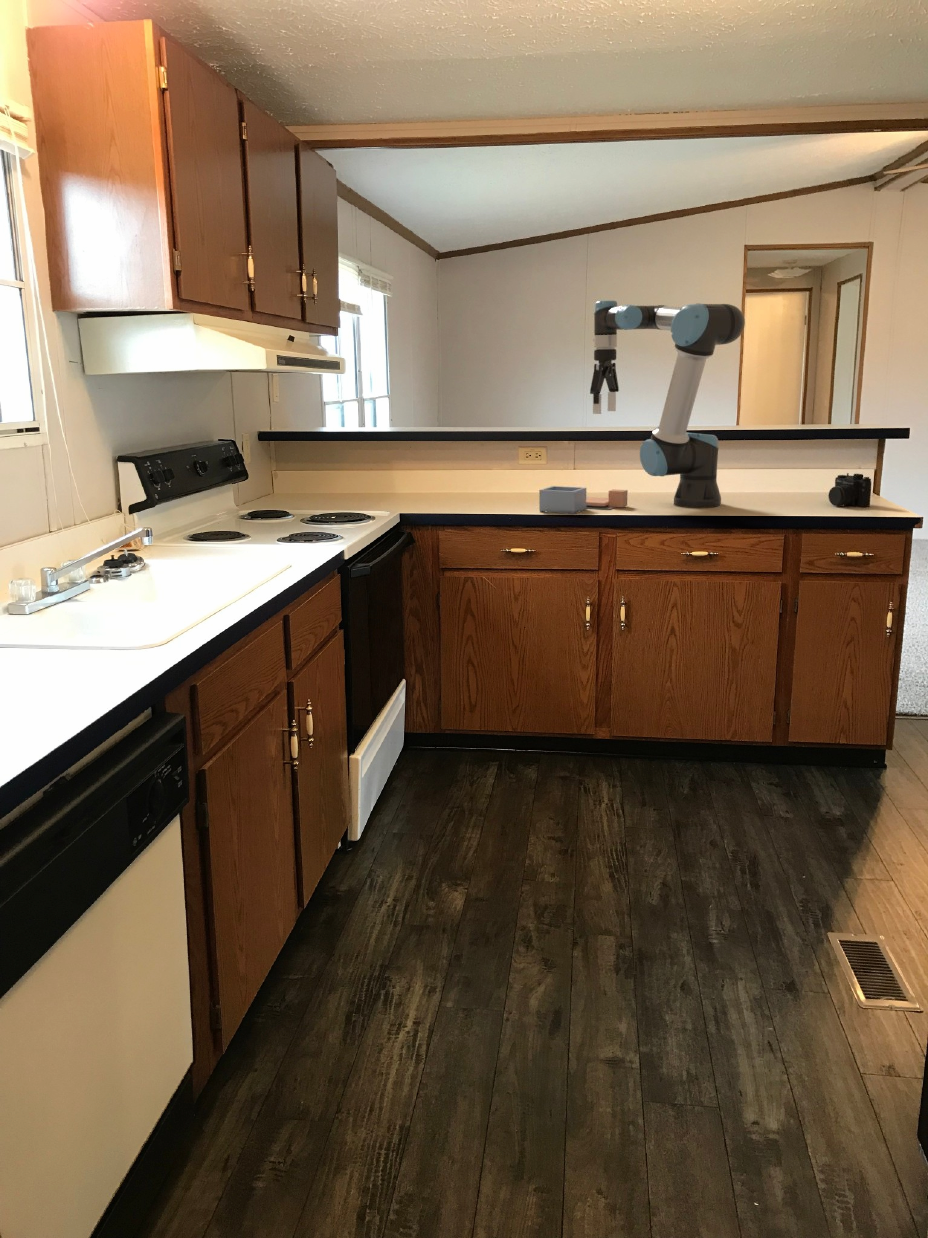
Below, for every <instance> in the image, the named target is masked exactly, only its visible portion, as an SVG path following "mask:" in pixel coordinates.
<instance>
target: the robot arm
mask: <svg viewBox="0 0 928 1238" xmlns="http://www.w3.org/2000/svg"><path fill="white" fill-rule="evenodd" d="M593 315H594V316H593V317H594V322H593V324H594V326H593V327H594V329H593V330H594V337H593V340H592V341H593V342H594V343H593V344H594V348H595V349H594V351H593V359H594V361H596V362H597V361H598V363H594V365H593V373H592V374H593V375H592V379H591V383H590V391H589V393H590V395H592V415H599V414H600V415H601V414H602V393H601V392H602V389H603V385H604V383H605V382H606V386H607V388H608V392H607V412H617V411H616V408H617V407H616V406H617V401H616V400H617V398H616V397H617V393H618V392H619V391H620V388H619V382H618V375H617V370H616V369H617V368H616V365H617V364H616V362H613V361H616V360H617V349H616V347H618V336H617V335H618V334H617V332H618V331H619V330H621V331H622V330H624V331H627V330H660V331H670V333H671V339H672V341H673V342H674V349H675V350H676V352H677V356H676V360H675V364H674V367H673V370H672V375H671V379H670V383H669V386H668V389H667V395H666V398H665V402H664V405H663V409H662V413H661V417H660V421H659V425H658V426H657V427H655V428H653V430H652V433H651V436H650V438H649V439H648V438H647V439H646V440H645V441H643V442H641V445H640V448H639V460H640V464H641V466H642V468H643V470H644V471H645V473H647V474H648V475H649V476H651V477H666V476H674V475H679V482H678V485H677V488H676V491H675V494H674V497H673V505H674V506H677V507H682V508H698V509H699V508H701V509H702V508H715V507H719V506H721V505H722V497H721V493H720V489H719V485H718V481H717V479H718V478H717V475H718V457H719V438H718V437H717V436H716V435H715V434H707V433H706V434H705V433H695V432H687V430H688V427H689V423H690V419H691V416H692V412H693V410H694V409H693V408H694V406H695V405H694V404H695V402H696V398H697V393H698V390H699V386H700V383H701V379H702V376H703V372H704V369H705V366H706V361H707V359H709V358H711V357H712V356H713V355H714V352H715V348H716V346H717V345H718V346H720V345H729V344H730V343H733V342H735V341H737V340H738V339H739V338H740V336H742V334H743V332H744V330H745V326H746V325H745V324H746V322H745V321H746V319H745V316H744V313H743V312H742V311H741V309H740V308H738V307H737V306H735V305H733V304H730V303H729V304H728V303H693V304H692V303H691V304H686V305H684V306H683V307H682V306H668V305H665V304H664V305H663V304H661V305H660V304H658V305H632V304H625V305H618V302H617V300H598V301H596V302H595V303H594V313H593ZM617 330H618V331H617ZM604 381H605V382H604Z"/></svg>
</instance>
